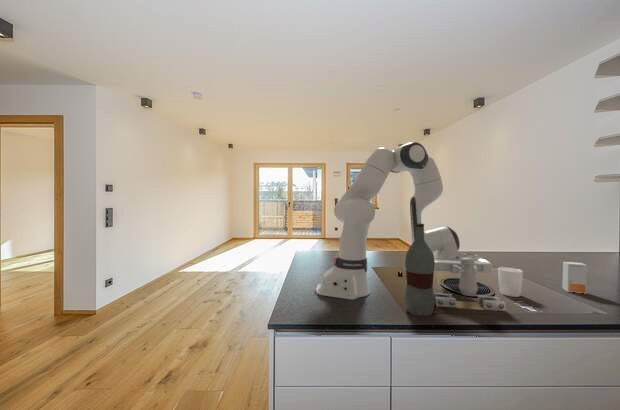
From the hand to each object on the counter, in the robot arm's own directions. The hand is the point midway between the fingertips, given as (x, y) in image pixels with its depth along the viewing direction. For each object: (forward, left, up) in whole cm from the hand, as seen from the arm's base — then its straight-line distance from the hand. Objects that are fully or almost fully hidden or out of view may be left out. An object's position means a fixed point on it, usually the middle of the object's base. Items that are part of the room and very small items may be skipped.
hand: (468, 271), depth 91 cm
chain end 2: (+8, +1, -13) cm, 15 cm away
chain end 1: (-8, +1, -13) cm, 15 cm away
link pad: (0, +1, -13) cm, 13 cm away
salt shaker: (0, 0, -9) cm, 9 cm away
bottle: (-18, -7, -13) cm, 23 cm away
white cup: (+22, +17, -13) cm, 30 cm away
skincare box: (+50, +25, -13) cm, 57 cm away
